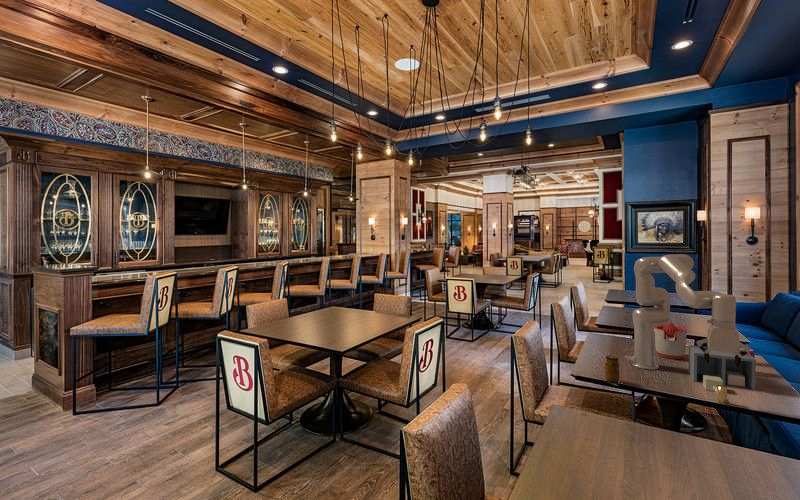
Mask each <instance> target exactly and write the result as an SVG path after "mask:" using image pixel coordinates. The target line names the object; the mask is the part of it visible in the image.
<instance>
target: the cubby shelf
mask: <svg viewBox="0 0 800 500" xmlns="http://www.w3.org/2000/svg"><path fill="white" fill-rule="evenodd" d="M703 347H704V348H706V347H707V346H703ZM739 352H741V351H739ZM708 353H709V363H707V362H706V361H705V360H704V352H703V351H702V350H701V349H700V348H699V346H698V345H691V344H689V345H688V364H687V365H688V371H687V372H688V375H690V378H691V379H692V381H693V382H695V383H697V381H698V375H702V376H703V375H707V376H715V377H720V378H721V379H722V381H723V386H726V381H725V371H733V372H741V373H742V374H743V375H744V376H745V385H747V386H748V388H750V389H751V391H756V377H757V376H756V375H757V373H756V370H757V369H756V368H757V365H756V364H757V359H756V357H755V358H753V357H752V356H751V355H750V354H749V353H748V352H747V354H746V355H744V356H743V357H742V358H741V365H739V367H737V366H736V365H735V356H736V353H729V352H720V351H713V350H711V351H710V352H708Z"/></svg>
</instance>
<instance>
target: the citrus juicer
mask: <svg viewBox="0 0 800 500" xmlns="http://www.w3.org/2000/svg"><path fill="white" fill-rule="evenodd" d="M653 327H654V329H653V331H654V332H655V353H657V355H658V356H659V357H662V358H665V359H670V360H681V359H683V358H684V355H685V352H686V350H687V349H686V348H687V331H688V329H687V328H685V327H682V326H678V325H674V324H673V323H672V322H668V323H667V324H665V325H656V326H653Z"/></svg>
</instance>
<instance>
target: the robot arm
mask: <svg viewBox="0 0 800 500" xmlns="http://www.w3.org/2000/svg"><path fill="white" fill-rule="evenodd" d="M694 265H695V262H694V260H693V258H692V257H691V256H690V255H688V254H683V253H679V254H676V253H675V254H673V253H672V254H665V255H663V256H645V257H641V258H638V259H637V260H635V262H634V266H633V271H634V276H635V300H636V303H637V304H638V305H640V306H644V307H640V308H636V309H635V310H633V312H632V314H631V315H632V323H633V328H634V333H633V335H634V336H633V337H634V340H633V341H634V343H633V344H634V346H633V347H634V348H633V349H634V350H633V355H631V356H629V355H624V360H627V361H629V362H630V364H632V365H631V366H633V367H635V368H638V369H643V370H649V371H650V370H651V371H653V370H658V369H659V364H657V363H656V348H655V332H654V329H653V328H652V326H653V327H654V326H656V325H667V324H668V323H670V319H671V318H670V317H671V298H670V297H671V296H670V293H669V292H668V291H667V289H665V288H663V287H656V286H655V285H656V283H655V278H654V277H653V275H652V274H663V273H664V274H666V275H668V277H669V278H671V280H673V281H674V282H675V292H676V294H677V297H678V298H679V300H682V302H683V303H684V304H685V305H686V306H688V307H689V308H691V309H711V318H710V319H707V320H706V322H707V324H710V325H709V326H708V329H707V335H706V338H703V339H700V340H696V344H697V345H696V346H699V348H700V349H701V350H702V351H703V352H704V360H705V361H706V362H707V363H709V353H708V352H710V351H711V350H713V351H720V352H729V353H736V356H735V365H736V366H737V367H739V365H741V358H742V357H743V356H744V355H746V354H747V352H748V351H749V350H750V349H751V347H750V346H748V345H746V344H744V343H742V342H740V334H739V333H740V332H739V329H738V328H737V327H736V316H737V314H736V312H737V309H736V308H737V298H736V296H735V295H732V294H726V293H722V292H720V291H716V290H694V289H693V288H692V287H690V286H689V285H690V284H692V283H693V281H695V279H696V273H695V272H694V271H693V270H692V269H693V268H694ZM645 306H646V307H645ZM647 306H649V307H647ZM650 306H654V307H650ZM703 344H706V346H703ZM704 347H706V348H704ZM740 348H744V350H743V351H741V352H739V351H740Z"/></svg>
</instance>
